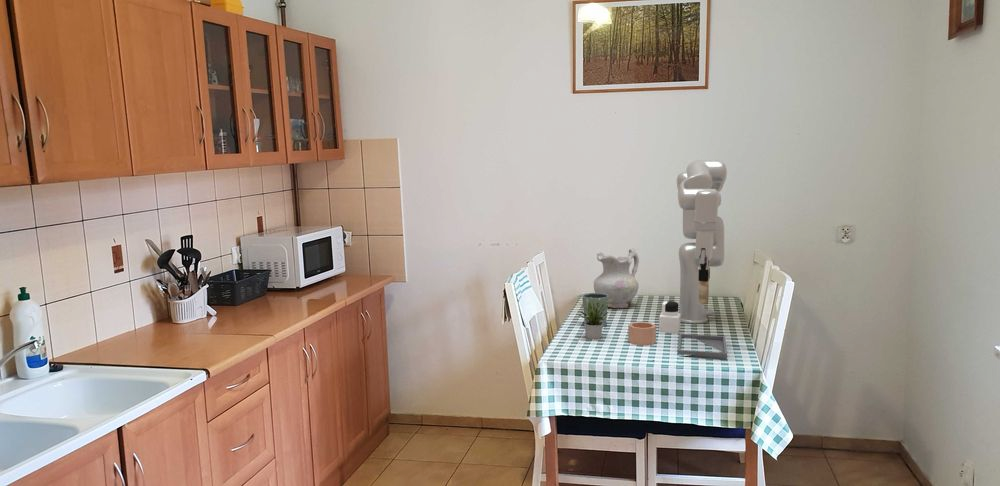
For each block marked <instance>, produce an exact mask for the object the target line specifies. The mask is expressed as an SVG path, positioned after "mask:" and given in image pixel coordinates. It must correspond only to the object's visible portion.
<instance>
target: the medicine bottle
mask: <svg viewBox="0 0 1000 486" xmlns="http://www.w3.org/2000/svg"><path fill="white" fill-rule="evenodd" d="M679 307H680V303H678V302H676V301H673V300H666V301H663V302H662V303H661V313H660V315H659V319H658V320H659V321H658V322H659V323H658V324H659V325H658V327H659V328H658V332H659V333H668V334H680V332H681V322H680V315H681V314H680V312H679Z"/></svg>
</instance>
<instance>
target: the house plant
mask: <svg viewBox="0 0 1000 486" xmlns="http://www.w3.org/2000/svg"><path fill="white" fill-rule="evenodd" d="M591 299H592V301H593V310H592V306H591V303H590V302H589V301H588V299H586V301H587V305H588V310H587V311H588V312H587V311H586V312H587V313H588V315H589V316H588V315H587V314H585V313H584V311H581V310H579V313H581V314H579V315H577V317H581V318H583V320H585V319H586V318H587V319H588V320H589V321H587V319H586V321H587V322H585V321H584V322H583V327H584V333H585V338H586V339H589V340H600V339H601V338H602V333H603V328H604V327H603V323H602V322H599V321H600V320H601V319H602V320H604V319H603V317H605V319H606V316H605V315H606V314H607V315H608V314H609V313H610V312H612V311H607V313H605V314H604V312H603V311H604V309H605V308H606V307H607V306H609V305H607V304H606V303H607V302H609V301H611V300H608V301H606V302H605V303H604V304H603V305H602V306H601V308H600V309H599V306H600V303H601V298H600V299H599V300H598V303H597V306H596V307H595V301H594V299H593V298H592V297H591ZM574 302H576V303H577V301H574ZM605 304H606V305H607V306H606V307H605V308H604V309H603V311H602V312H603V313H602V312H601V313H600V314H599V312H600V311H601V309H602V308H603V306H604V305H605ZM578 305H581V303H580V302H578ZM610 305H613V304H610ZM582 308H583V309H585V308H586V307H585V308H584V307H583V306H582ZM607 308H608V307H607ZM586 309H587V308H586ZM586 309H585V310H586ZM598 309H599V311H598ZM598 314H599V315H598ZM602 314H604V315H603V316H601V315H602ZM584 316H585V317H586V318H585V317H584ZM600 316H601V317H600Z"/></svg>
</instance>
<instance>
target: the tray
mask: <svg viewBox="0 0 1000 486" xmlns="http://www.w3.org/2000/svg"><path fill="white" fill-rule="evenodd" d="M678 334H679V335H678V343H677V345H678V346H677V355H679V356H677V358H691V359H692V358H693V359H694V358H695V359H703V360H705V359H707V360H721V361H722V360H723V361H727V360H728V349H727V340H726V339H727V338H726V336H725V335H723V336H722V335H704V334H693V333H692V334H691V333H690V334H689V333H688V334H687V333H678ZM682 339H694V340H697V341H699V342H701V343H703V344H704V345H708V346H709V347H711V348H712V349H715V350H717V351H705V350H703V351H702V350H689V349H687V350H686V349H681V348H682V347H681V345H682Z"/></svg>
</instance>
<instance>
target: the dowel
mask: <svg viewBox="0 0 1000 486" xmlns="http://www.w3.org/2000/svg"><path fill="white" fill-rule="evenodd" d="M709 268H710V267H709V264H708V270H709ZM709 292H710V279H709V275H708V281H707V282H706V281H699V303H700V304H704V305H709V297H710V295H709Z"/></svg>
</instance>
